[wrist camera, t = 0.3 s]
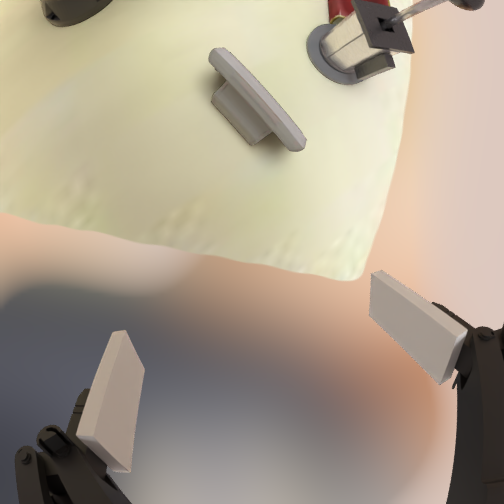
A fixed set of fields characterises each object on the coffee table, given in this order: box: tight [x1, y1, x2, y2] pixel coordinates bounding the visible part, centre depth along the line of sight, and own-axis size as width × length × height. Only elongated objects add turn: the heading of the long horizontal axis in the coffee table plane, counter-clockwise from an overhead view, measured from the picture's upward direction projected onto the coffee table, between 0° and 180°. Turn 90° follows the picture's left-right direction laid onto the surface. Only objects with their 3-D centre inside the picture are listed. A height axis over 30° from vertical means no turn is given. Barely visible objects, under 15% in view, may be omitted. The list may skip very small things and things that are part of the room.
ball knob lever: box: [378, 0, 485, 32], centre depth 15 cm, size 5×5×19 cm
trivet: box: [307, 24, 363, 85], centre depth 34 cm, size 12×12×1 cm
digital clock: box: [209, 48, 307, 152], centre depth 31 cm, size 16×9×11 cm, turn 29°
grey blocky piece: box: [319, 0, 414, 80], centre depth 28 cm, size 10×8×13 cm
